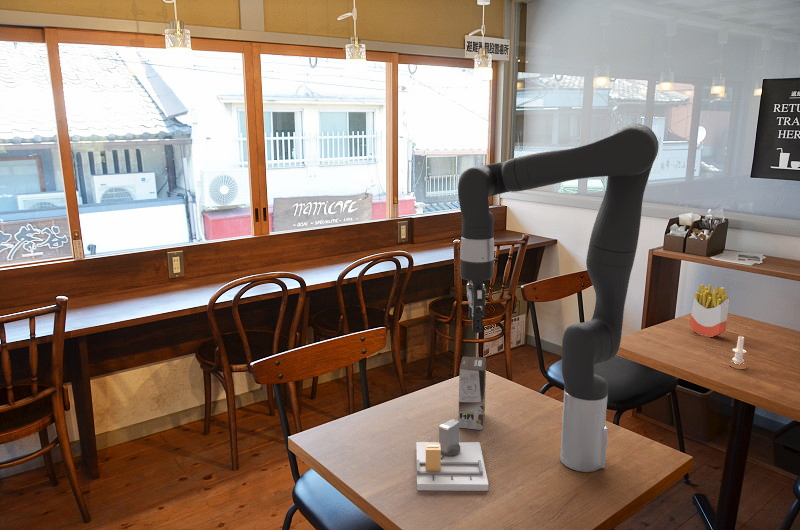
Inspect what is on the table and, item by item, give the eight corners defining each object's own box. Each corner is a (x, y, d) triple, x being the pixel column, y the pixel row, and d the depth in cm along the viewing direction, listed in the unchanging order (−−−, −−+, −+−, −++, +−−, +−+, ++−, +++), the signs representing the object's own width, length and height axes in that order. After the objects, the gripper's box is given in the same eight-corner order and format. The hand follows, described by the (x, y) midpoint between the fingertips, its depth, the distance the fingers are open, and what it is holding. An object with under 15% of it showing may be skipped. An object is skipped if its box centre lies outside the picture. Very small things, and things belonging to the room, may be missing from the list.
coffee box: (483, 430, 151) (484, 370, 147) (457, 428, 152) (458, 368, 149) (485, 413, 160) (487, 356, 156) (461, 411, 161) (462, 355, 157)
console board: (479, 448, 143) (479, 438, 142) (488, 490, 126) (488, 480, 126) (416, 447, 143) (416, 438, 143) (417, 490, 127) (417, 479, 126)
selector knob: (445, 441, 142) (446, 415, 141) (464, 448, 139) (465, 421, 138) (433, 451, 138) (433, 423, 137) (452, 458, 135) (452, 430, 134)
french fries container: (717, 340, 212) (723, 291, 208) (688, 331, 221) (693, 284, 216) (724, 337, 214) (730, 289, 210) (695, 329, 223) (701, 282, 219)
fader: (439, 464, 133) (440, 442, 132) (440, 471, 130) (440, 449, 129) (425, 464, 133) (425, 442, 132) (425, 471, 130) (425, 449, 129)
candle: (750, 369, 187) (754, 338, 184) (733, 369, 187) (737, 338, 184) (741, 363, 192) (745, 332, 189) (724, 363, 192) (728, 332, 190)
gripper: (498, 264, 127) (496, 336, 130) (489, 250, 141) (487, 316, 144) (462, 264, 127) (461, 336, 131) (457, 250, 141) (456, 316, 144)
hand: (475, 326), depth 137 cm, fingers open, 8 cm apart
